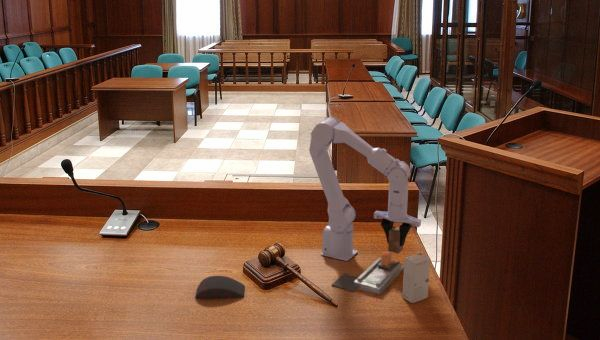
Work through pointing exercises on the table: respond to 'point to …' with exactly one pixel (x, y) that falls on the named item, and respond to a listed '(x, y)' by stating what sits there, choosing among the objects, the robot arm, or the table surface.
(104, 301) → the table surface
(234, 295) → the computer mouse
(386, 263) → the lever
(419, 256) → the skincare box
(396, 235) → the brown rectangular block
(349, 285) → the rubber pad
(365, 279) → the breaker panel
